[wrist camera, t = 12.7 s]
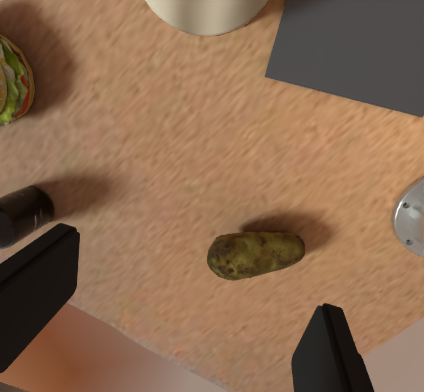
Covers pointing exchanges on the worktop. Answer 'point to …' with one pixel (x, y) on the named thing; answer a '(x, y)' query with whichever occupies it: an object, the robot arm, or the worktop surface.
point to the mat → (354, 50)
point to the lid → (207, 14)
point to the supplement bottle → (23, 214)
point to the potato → (254, 253)
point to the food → (14, 82)
